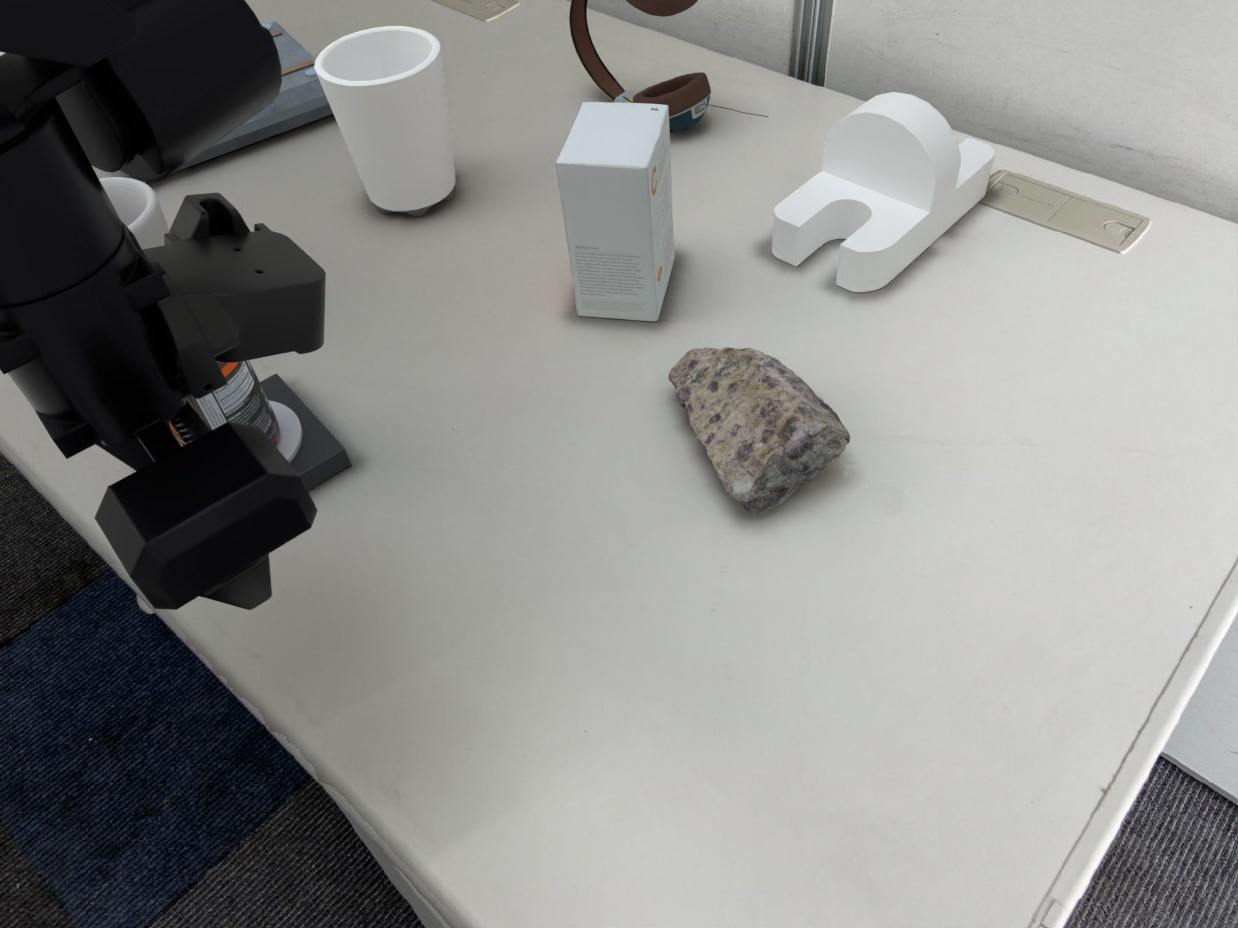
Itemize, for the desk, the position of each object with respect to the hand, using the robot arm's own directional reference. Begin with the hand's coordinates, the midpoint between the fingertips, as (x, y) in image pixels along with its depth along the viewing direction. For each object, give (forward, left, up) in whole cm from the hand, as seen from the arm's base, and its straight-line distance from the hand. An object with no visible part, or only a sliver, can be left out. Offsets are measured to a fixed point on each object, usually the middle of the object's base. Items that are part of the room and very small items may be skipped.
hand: (215, 538), depth 44 cm
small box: (+35, +14, -13) cm, 40 cm away
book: (+23, +63, -13) cm, 68 cm away
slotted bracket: (+55, +6, -13) cm, 57 cm away
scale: (+5, +17, -13) cm, 22 cm away
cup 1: (+6, +40, -13) cm, 43 cm away
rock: (+30, -4, -13) cm, 33 cm away
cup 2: (+30, +37, -13) cm, 49 cm away
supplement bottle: (+5, +17, -11) cm, 21 cm away
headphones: (+53, +30, -13) cm, 63 cm away
